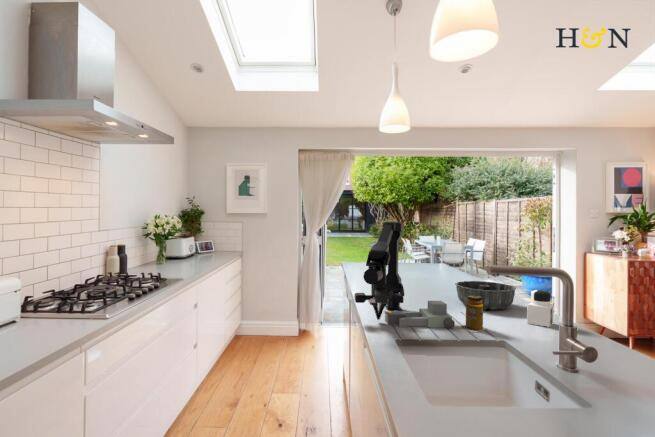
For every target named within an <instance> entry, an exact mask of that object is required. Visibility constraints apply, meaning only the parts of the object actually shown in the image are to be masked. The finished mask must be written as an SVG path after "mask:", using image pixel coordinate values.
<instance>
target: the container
mask: <svg viewBox="0 0 655 437" xmlns="http://www.w3.org/2000/svg"><path fill="white" fill-rule="evenodd" d="M530 301H531V302H529V303H527V305H526V307H527V309H526V323H527V324H528V323H529V324H528V325H533V324H534V325H533V326H538V325H540V327H543V326H550V325H551V324H552V323H553V324H554V314H555V313H554V312H555V310H554V308H555V306H554V304H553V303H551V293H550V292H549V291H547V290H542V289H541V290H540V289H535V290H532V291H531V292H530ZM553 324H552V325H553ZM552 325H551V326H552ZM551 326H550V327H551Z"/></svg>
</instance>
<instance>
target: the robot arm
mask: <svg viewBox="0 0 655 437" xmlns="http://www.w3.org/2000/svg"><path fill="white" fill-rule="evenodd" d="M404 232H405V226H404V224H403V223H402V222H401V221H383V222H382V229H381V231H380V234H379V237H378V239H377V242H376V243H375V244H372V246H371V249H370V250H369V251H368V255H367V259H366V263H365V266H366V267H368V268H367V269H366V270H365V271H364V272H363V275H362V276H363V277H362V278H363V280H364V281H365V283H366V284H368V285H371V290H370V291H371V293H370V294H366V293H365V292H355V293H354V298H353V299H354V302H355V303H357V304H361V303H362V304H364V303H366V301H368V303H369V305H370V306H372V307H373V310H374V313H375V316H376V319H377V320H381V317H382V315H383V314H382V313H383V311H384V309H386V310H387V311H403V308H402V307H401V304H403V303H404V297H405V288H404V286H403V283H402V278H401V276H400V274H399V251H400V250H399V249H400V248H399V241H400V240H401V239H402V237H403V234H404Z"/></svg>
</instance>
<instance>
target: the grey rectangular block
mask: <svg viewBox="0 0 655 437" xmlns="http://www.w3.org/2000/svg"><path fill="white" fill-rule="evenodd" d="M404 312H405V311H403V310H387V311H386V310H385V311H384V321H385V323H386V324H387V325H399V319H400V318H404V317H405V318H406V314H405V313H404Z"/></svg>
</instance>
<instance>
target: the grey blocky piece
mask: <svg viewBox="0 0 655 437" xmlns="http://www.w3.org/2000/svg"><path fill="white" fill-rule="evenodd" d="M447 309H448V307H447V303H446V302H444V301H442V300H427V308H419V310H418V311H403V312H404V313H405V314H406V318H405V317H404V318H400V319H399V324H398V327H399V328H402V329H403V328H405V327H428V328H447V329H453V328H454V327H455V325H456V322H455V320H454V319H452V318H453V317H452V315H450V314H449V313H447V312H448V310H447Z"/></svg>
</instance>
